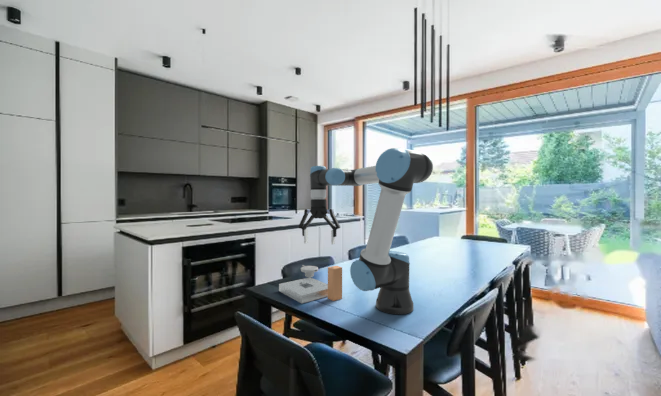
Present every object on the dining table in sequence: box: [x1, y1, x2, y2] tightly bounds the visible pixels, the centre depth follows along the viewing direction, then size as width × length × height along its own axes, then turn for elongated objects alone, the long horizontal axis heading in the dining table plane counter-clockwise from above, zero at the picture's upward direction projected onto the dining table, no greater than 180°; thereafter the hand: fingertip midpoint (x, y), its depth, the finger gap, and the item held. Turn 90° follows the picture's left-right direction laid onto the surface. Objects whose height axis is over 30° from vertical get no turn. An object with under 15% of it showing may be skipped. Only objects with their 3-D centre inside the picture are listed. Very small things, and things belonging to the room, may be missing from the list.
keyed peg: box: [327, 265, 343, 302], centre depth 133 cm, size 5×4×14 cm
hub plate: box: [278, 277, 328, 305], centre depth 140 cm, size 20×18×4 cm
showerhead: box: [300, 264, 319, 278], centre depth 162 cm, size 9×7×10 cm
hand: (319, 243), depth 141 cm, fingers open, 13 cm apart
